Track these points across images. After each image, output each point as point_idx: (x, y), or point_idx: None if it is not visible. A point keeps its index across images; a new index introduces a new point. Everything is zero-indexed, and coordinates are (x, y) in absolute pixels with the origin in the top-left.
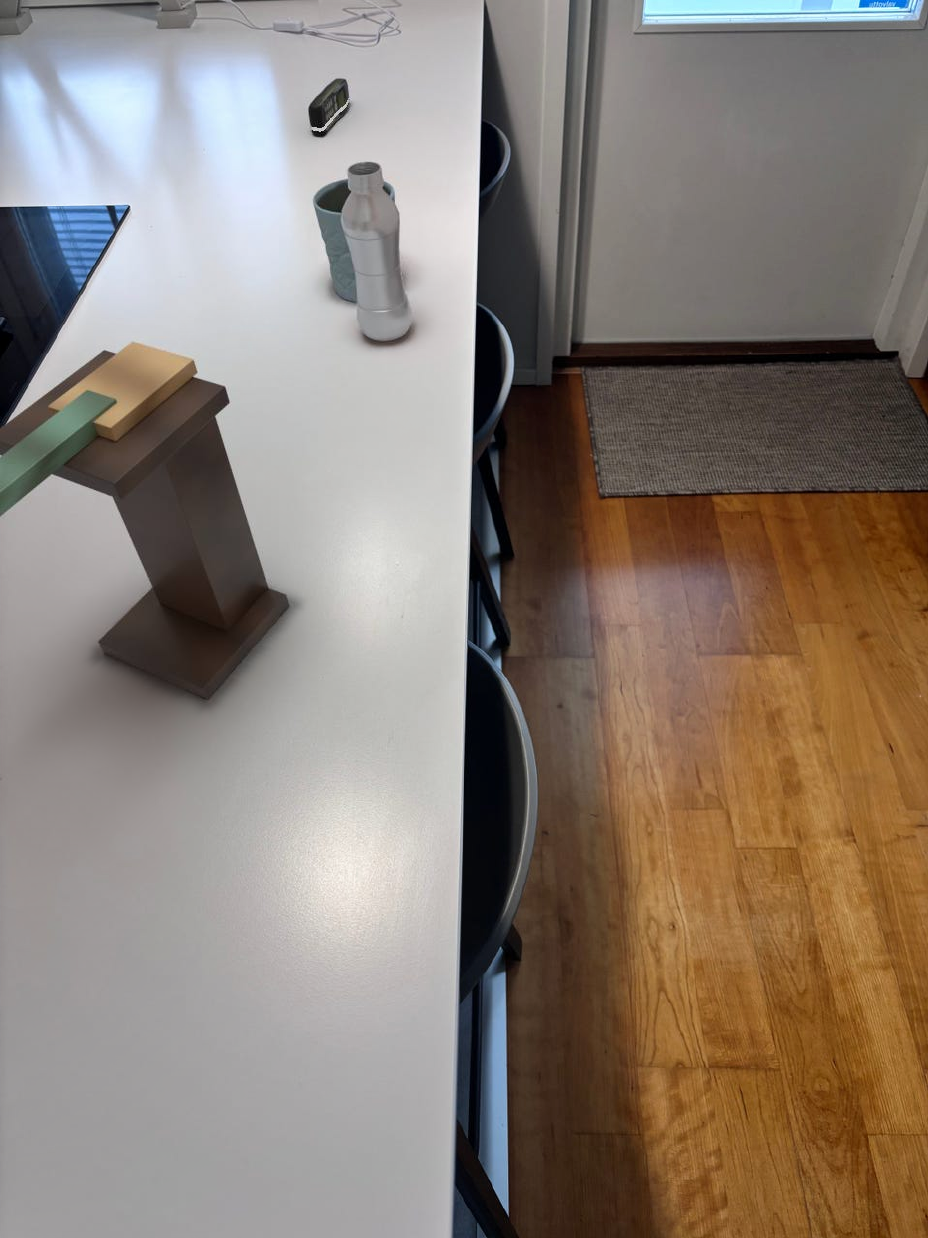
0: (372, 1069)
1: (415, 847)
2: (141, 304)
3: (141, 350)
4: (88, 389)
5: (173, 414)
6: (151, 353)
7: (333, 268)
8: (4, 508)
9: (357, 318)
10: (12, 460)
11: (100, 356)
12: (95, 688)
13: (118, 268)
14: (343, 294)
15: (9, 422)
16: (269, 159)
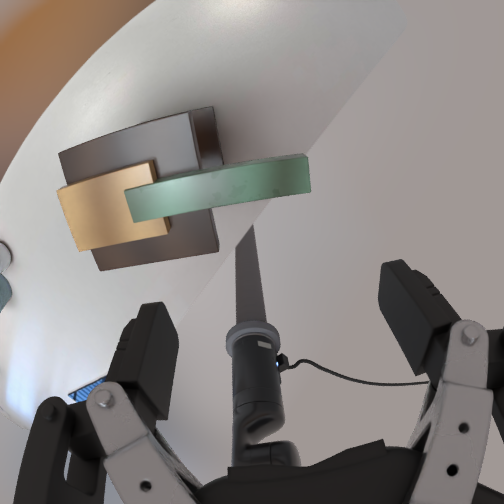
0: None
1: None
2: (82, 355)
3: (78, 235)
4: (132, 225)
5: (101, 153)
6: (75, 225)
7: (4, 299)
8: (267, 158)
9: (7, 265)
10: (232, 189)
11: (105, 266)
12: None
13: (83, 376)
14: (9, 288)
15: (196, 254)
16: (14, 372)
